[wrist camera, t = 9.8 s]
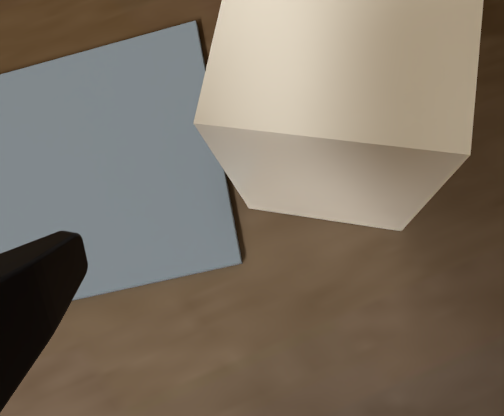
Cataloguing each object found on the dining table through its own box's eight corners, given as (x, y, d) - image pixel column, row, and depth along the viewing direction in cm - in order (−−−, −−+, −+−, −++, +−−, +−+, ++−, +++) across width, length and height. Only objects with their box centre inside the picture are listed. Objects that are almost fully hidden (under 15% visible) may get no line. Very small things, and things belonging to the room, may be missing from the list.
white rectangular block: (401, 231, 21) (470, 154, 11) (249, 208, 22) (193, 123, 12) (417, 89, 22) (490, -85, 13) (274, 76, 24) (242, -89, 14)
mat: (242, 263, 21) (240, 262, 21) (-19, 320, 23) (-25, 320, 22) (197, 24, 25) (195, 20, 25) (-25, 86, 27) (-30, 82, 26)
